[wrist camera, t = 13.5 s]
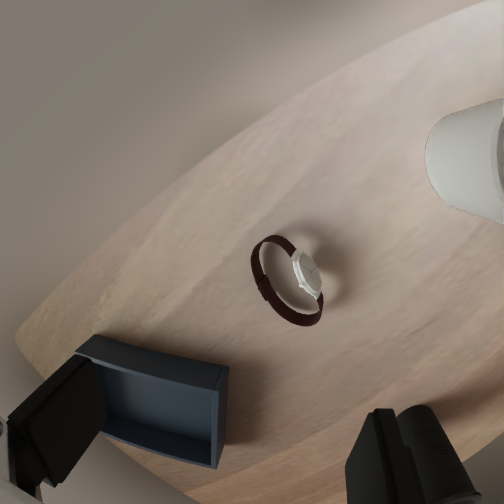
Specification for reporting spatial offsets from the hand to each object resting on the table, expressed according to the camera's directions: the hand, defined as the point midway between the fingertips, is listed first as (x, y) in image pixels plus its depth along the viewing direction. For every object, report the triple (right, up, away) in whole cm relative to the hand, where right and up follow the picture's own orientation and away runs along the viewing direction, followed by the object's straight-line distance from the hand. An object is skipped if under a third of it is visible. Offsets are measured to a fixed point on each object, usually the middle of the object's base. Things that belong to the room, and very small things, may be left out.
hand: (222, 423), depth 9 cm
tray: (-9, -10, +22) cm, 26 cm away
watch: (+4, +4, +17) cm, 18 cm away
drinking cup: (+18, -13, +19) cm, 29 cm away
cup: (+20, +11, +12) cm, 26 cm away
